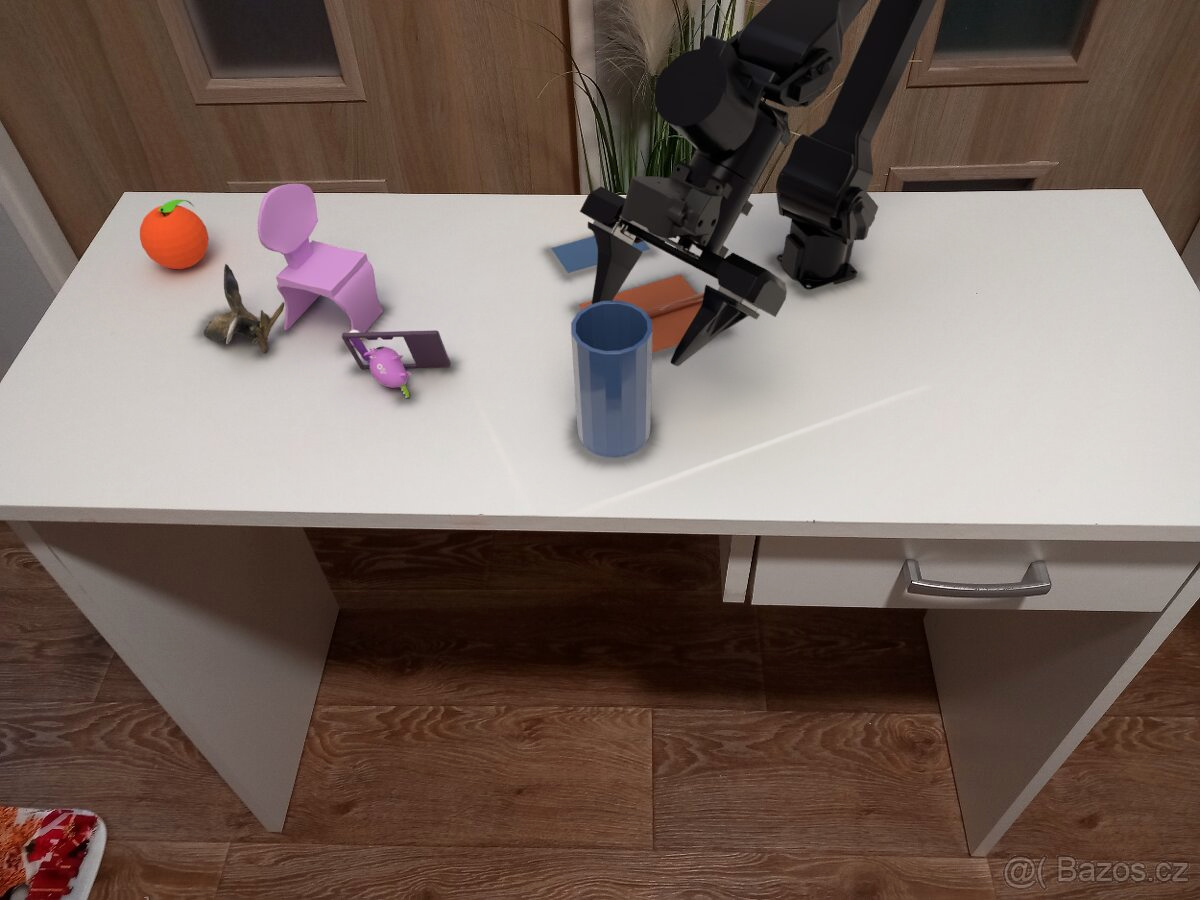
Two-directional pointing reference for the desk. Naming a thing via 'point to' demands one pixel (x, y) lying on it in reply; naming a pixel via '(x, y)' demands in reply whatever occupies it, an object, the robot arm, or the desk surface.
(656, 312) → the terracotta spoon
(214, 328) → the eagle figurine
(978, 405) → the desk surface
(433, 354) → the pink creature with frame
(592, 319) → the blue tumbler
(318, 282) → the toy chair
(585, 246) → the blue mat
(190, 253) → the clementine
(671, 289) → the terracotta mat
